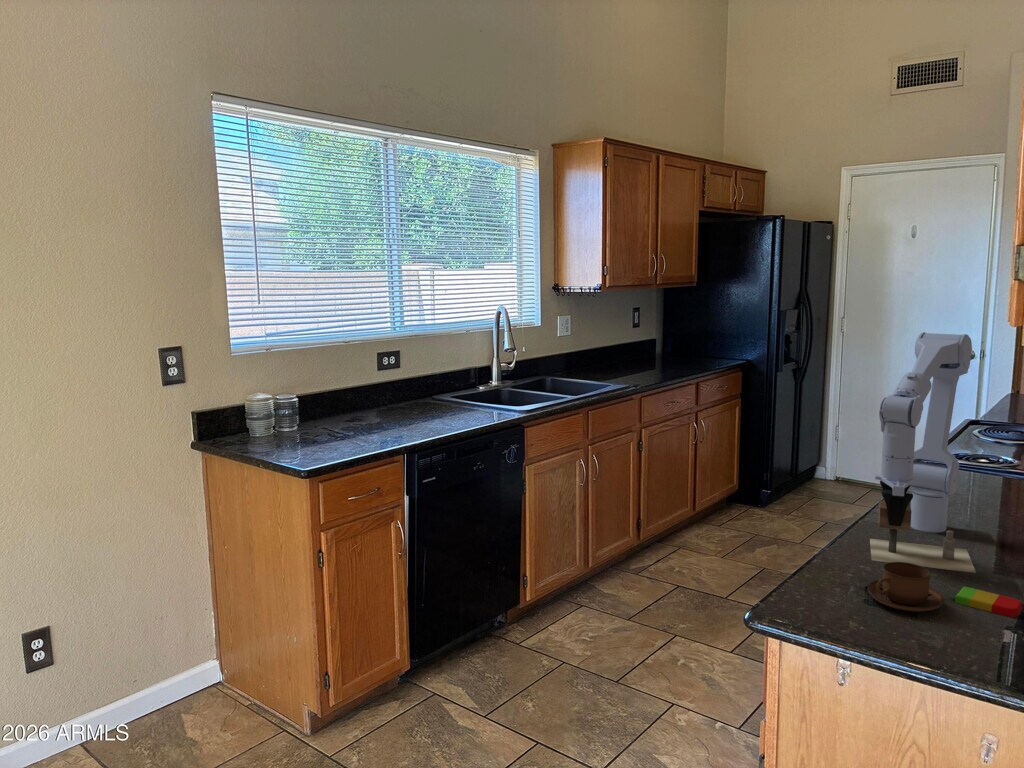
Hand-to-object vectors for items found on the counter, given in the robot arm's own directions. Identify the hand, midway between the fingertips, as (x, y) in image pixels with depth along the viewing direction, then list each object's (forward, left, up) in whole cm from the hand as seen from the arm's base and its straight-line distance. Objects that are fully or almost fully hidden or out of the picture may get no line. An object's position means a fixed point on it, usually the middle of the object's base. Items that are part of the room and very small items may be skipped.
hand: (894, 520), depth 155 cm
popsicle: (+18, +12, -8) cm, 23 cm away
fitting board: (0, +5, -8) cm, 9 cm away
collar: (0, 0, -1) cm, 1 cm away
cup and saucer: (+23, +1, -8) cm, 24 cm away
